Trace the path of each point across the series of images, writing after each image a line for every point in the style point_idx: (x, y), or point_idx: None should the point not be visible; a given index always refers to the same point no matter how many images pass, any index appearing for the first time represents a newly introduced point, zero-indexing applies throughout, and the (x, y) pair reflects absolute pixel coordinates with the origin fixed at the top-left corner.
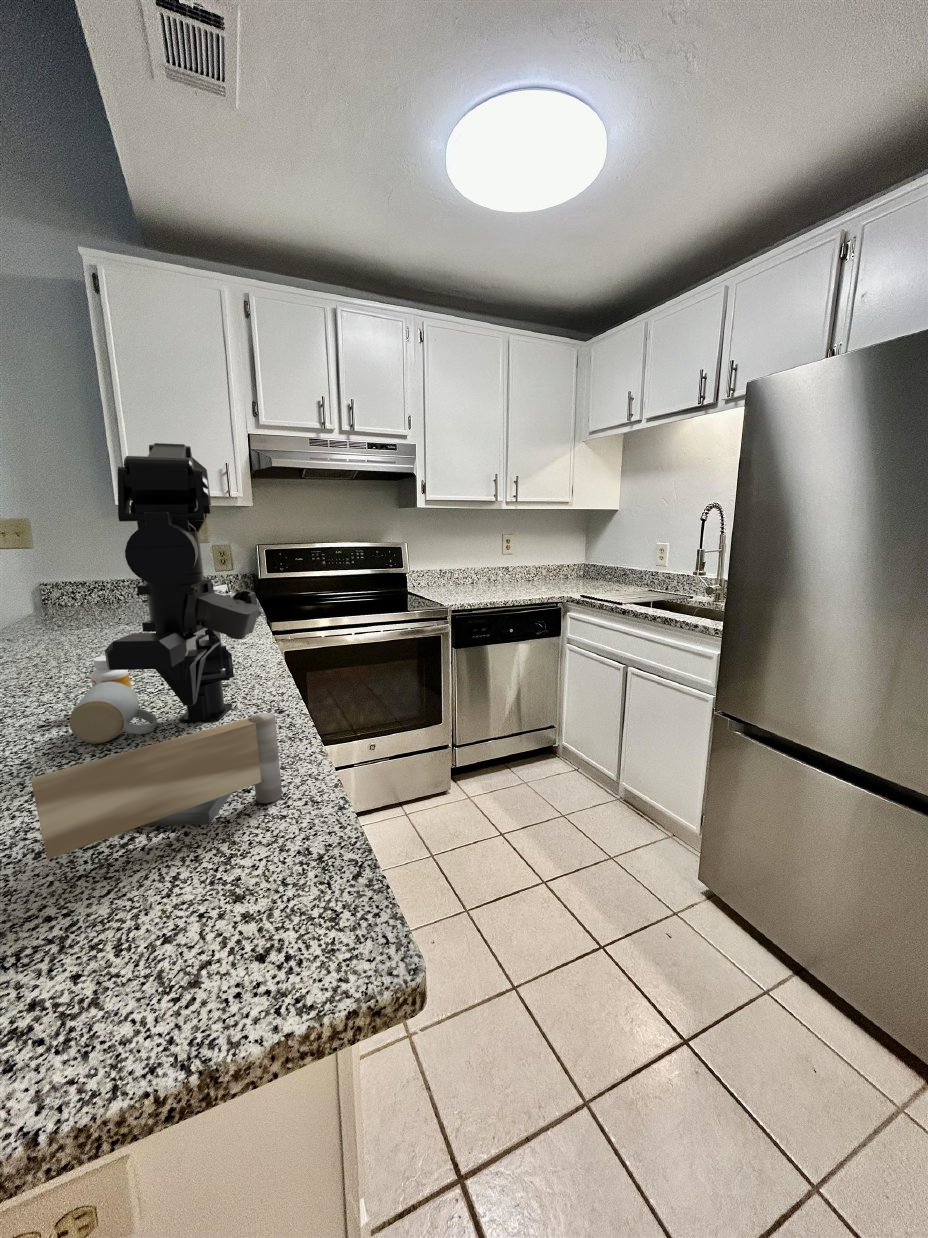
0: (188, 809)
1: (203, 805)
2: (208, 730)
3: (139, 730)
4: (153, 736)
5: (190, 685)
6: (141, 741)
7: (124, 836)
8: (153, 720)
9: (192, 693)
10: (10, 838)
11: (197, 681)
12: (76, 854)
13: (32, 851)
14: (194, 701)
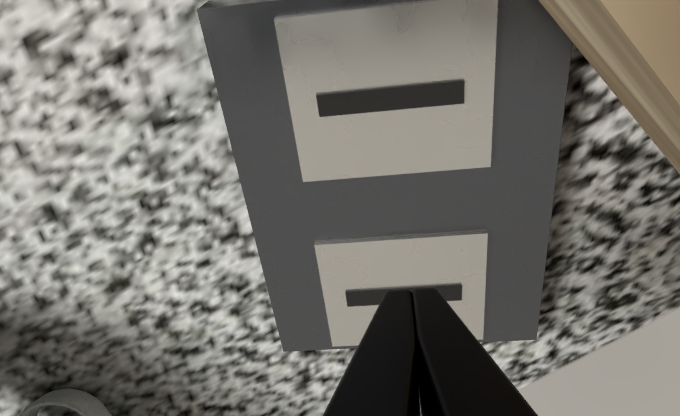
0: (550, 49)
1: (533, 7)
2: (670, 42)
3: (97, 410)
4: (91, 372)
5: (524, 408)
6: (125, 381)
7: (583, 177)
8: (33, 411)
9: (475, 342)
10: (545, 375)
11: (403, 403)
12: (639, 236)
13: (603, 318)
14: (420, 295)
